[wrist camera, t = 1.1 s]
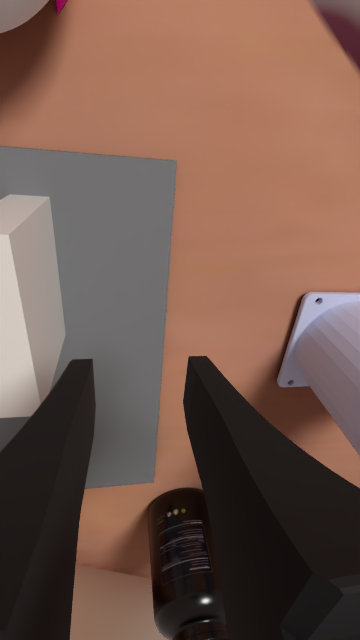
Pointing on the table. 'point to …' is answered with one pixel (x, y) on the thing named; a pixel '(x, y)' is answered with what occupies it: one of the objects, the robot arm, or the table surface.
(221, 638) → the supplement bottle
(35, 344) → the tile
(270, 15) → the table surface
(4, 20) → the stress ball
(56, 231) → the mat
